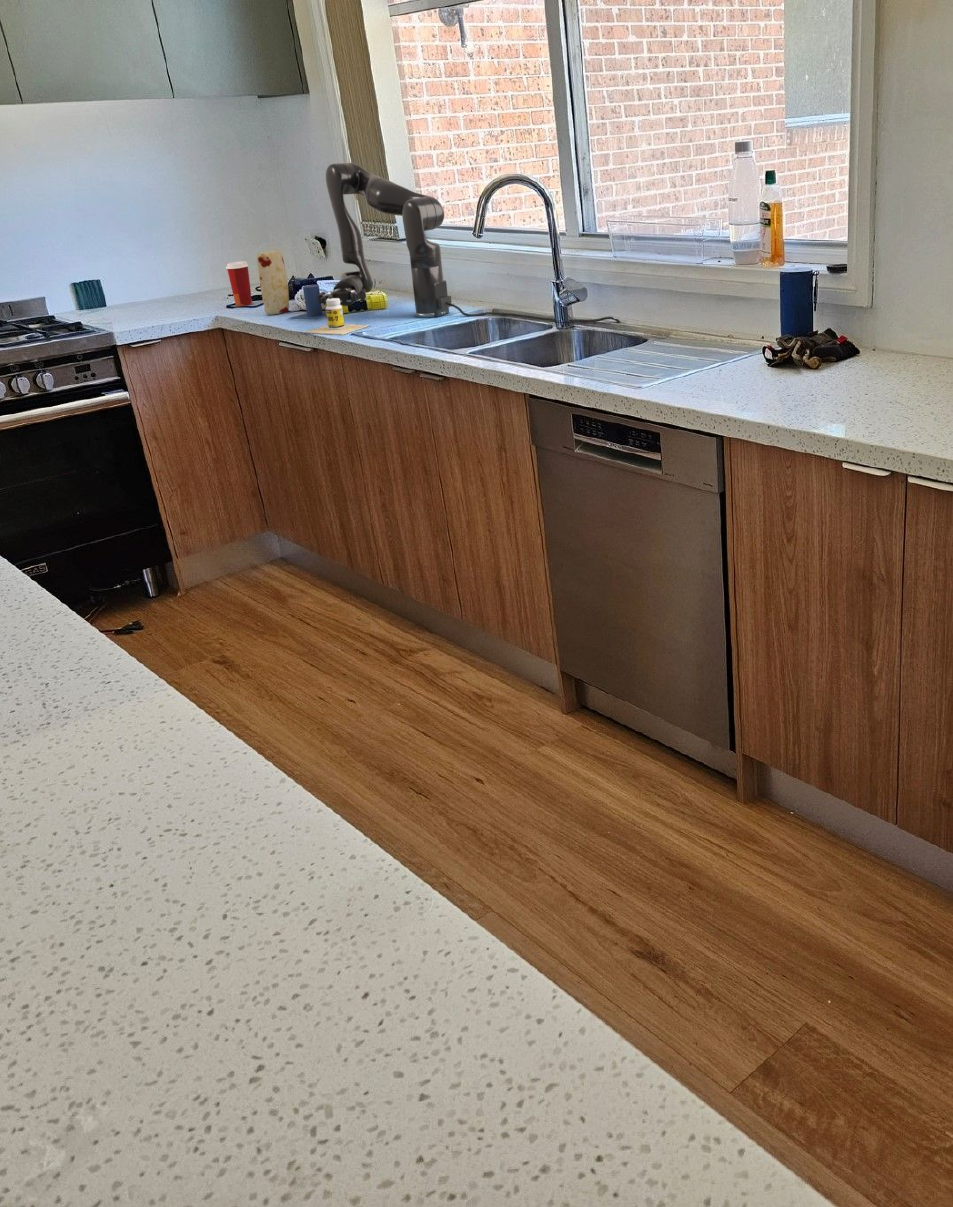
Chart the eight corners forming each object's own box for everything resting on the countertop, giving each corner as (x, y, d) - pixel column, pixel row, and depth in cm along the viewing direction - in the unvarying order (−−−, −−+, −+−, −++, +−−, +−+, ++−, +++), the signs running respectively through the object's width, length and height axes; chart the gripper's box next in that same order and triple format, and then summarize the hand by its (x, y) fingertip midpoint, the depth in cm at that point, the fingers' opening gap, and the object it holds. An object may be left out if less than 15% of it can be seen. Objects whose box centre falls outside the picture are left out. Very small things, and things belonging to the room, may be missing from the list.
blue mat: (341, 312, 341) (341, 312, 341) (316, 320, 332) (316, 319, 332) (313, 311, 347) (313, 310, 347) (288, 319, 339) (288, 318, 338)
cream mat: (368, 326, 316) (368, 325, 316) (342, 335, 308) (341, 333, 307) (332, 324, 324) (332, 323, 324) (305, 333, 315) (305, 332, 315)
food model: (271, 317, 344) (261, 252, 336) (260, 316, 349) (249, 252, 340) (296, 311, 350) (286, 248, 342) (284, 310, 355) (274, 247, 346)
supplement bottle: (326, 330, 314) (321, 301, 311) (332, 327, 318) (328, 298, 315) (341, 330, 313) (336, 300, 309) (347, 326, 317) (343, 297, 313)
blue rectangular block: (326, 313, 340) (322, 284, 336) (315, 317, 336) (311, 287, 333) (314, 313, 343) (310, 284, 339) (303, 316, 339) (299, 287, 335)
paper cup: (258, 301, 376) (251, 260, 370) (250, 306, 369) (243, 264, 363) (237, 303, 377) (229, 262, 371) (229, 307, 371) (221, 265, 365)
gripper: (323, 280, 332) (312, 289, 318) (368, 276, 331) (359, 285, 316) (326, 305, 335) (316, 315, 321) (371, 301, 334) (363, 311, 319)
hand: (337, 300), depth 319 cm, fingers open, 8 cm apart
